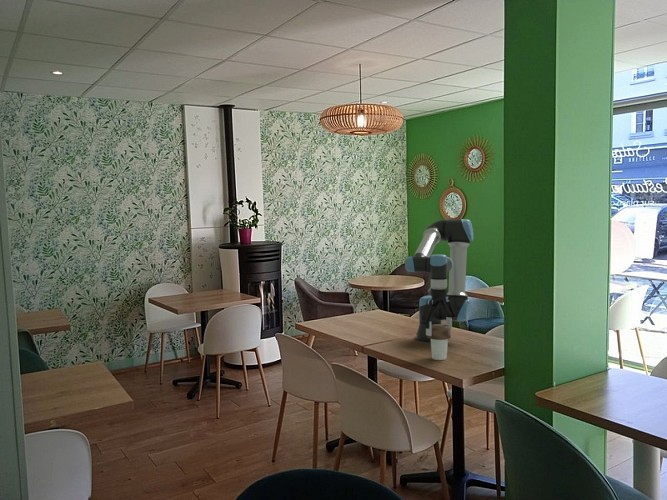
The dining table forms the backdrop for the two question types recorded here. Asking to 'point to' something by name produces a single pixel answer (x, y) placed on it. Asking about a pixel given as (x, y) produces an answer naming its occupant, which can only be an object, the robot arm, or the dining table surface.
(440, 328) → the walnut lid
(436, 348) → the white cup
